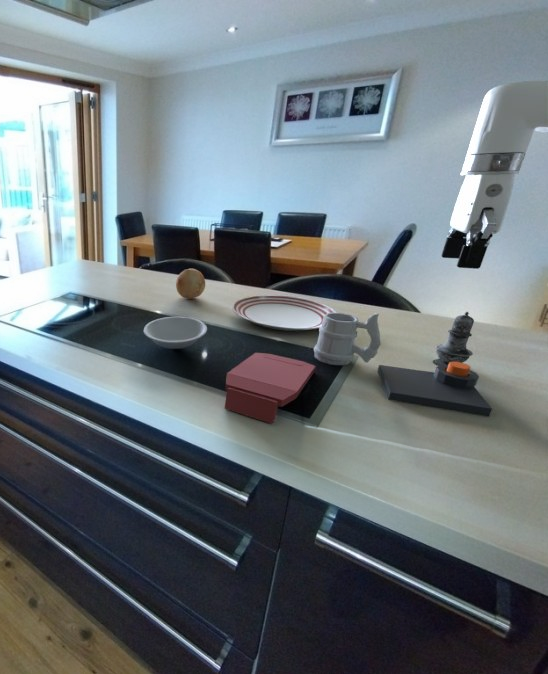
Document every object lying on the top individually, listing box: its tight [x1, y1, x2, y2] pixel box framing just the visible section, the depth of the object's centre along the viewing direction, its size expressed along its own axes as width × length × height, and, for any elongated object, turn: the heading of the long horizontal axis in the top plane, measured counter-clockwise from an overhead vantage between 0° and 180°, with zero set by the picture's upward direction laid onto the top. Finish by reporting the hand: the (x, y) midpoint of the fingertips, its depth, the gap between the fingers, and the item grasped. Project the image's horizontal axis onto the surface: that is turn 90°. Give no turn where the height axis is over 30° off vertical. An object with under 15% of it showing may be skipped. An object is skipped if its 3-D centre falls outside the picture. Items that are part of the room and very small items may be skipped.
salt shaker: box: [432, 311, 475, 367], centre depth 80 cm, size 6×6×12 cm
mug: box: [313, 312, 382, 366], centre depth 83 cm, size 8×12×12 cm, turn 47°
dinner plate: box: [231, 294, 338, 332], centre depth 110 cm, size 27×27×3 cm
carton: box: [224, 352, 316, 425], centre depth 76 cm, size 12×5×25 cm
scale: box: [376, 364, 493, 418], centre depth 72 cm, size 14×12×4 cm
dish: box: [143, 316, 208, 350], centre depth 94 cm, size 18×14×5 cm
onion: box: [175, 268, 206, 300], centre depth 131 cm, size 10×10×10 cm
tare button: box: [446, 362, 471, 376], centre depth 72 cm, size 3×3×2 cm
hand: (458, 262), depth 75 cm, fingers open, 9 cm apart
